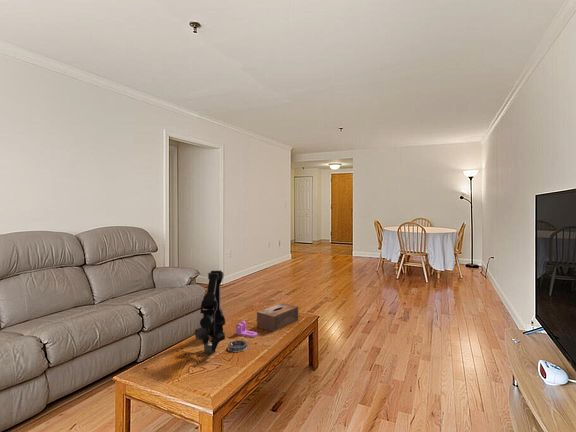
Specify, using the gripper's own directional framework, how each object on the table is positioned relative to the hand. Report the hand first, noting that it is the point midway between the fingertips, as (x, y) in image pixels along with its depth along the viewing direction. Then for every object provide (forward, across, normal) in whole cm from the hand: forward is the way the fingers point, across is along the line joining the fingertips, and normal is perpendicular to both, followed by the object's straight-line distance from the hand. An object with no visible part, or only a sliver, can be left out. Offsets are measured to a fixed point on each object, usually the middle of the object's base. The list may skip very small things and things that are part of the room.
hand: (209, 350), depth 180 cm
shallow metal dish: (+1, +8, +13) cm, 15 cm away
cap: (+1, 0, 0) cm, 1 cm away
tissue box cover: (+2, +2, +56) cm, 56 cm away
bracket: (+1, -1, +30) cm, 30 cm away
